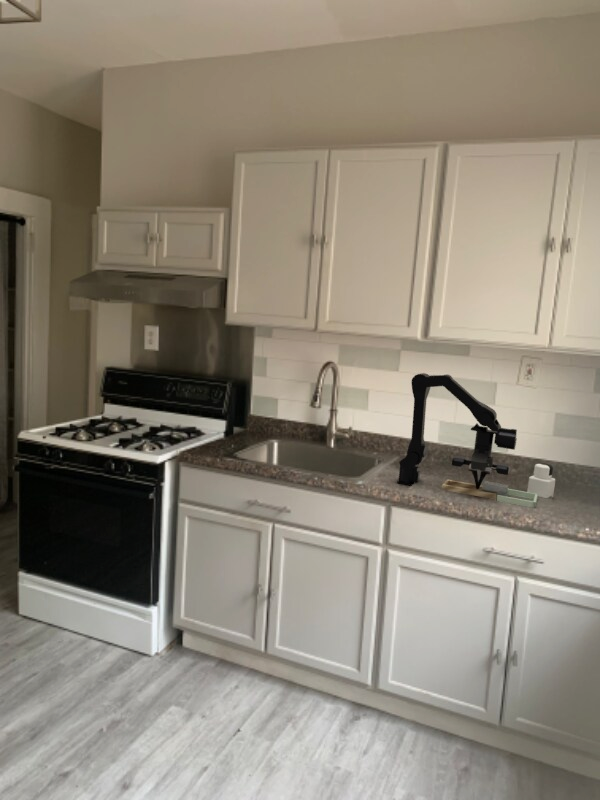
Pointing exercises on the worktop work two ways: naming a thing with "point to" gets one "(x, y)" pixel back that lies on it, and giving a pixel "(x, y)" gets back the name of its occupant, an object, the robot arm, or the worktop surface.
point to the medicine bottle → (542, 481)
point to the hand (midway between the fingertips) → (477, 489)
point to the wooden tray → (466, 489)
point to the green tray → (519, 501)
